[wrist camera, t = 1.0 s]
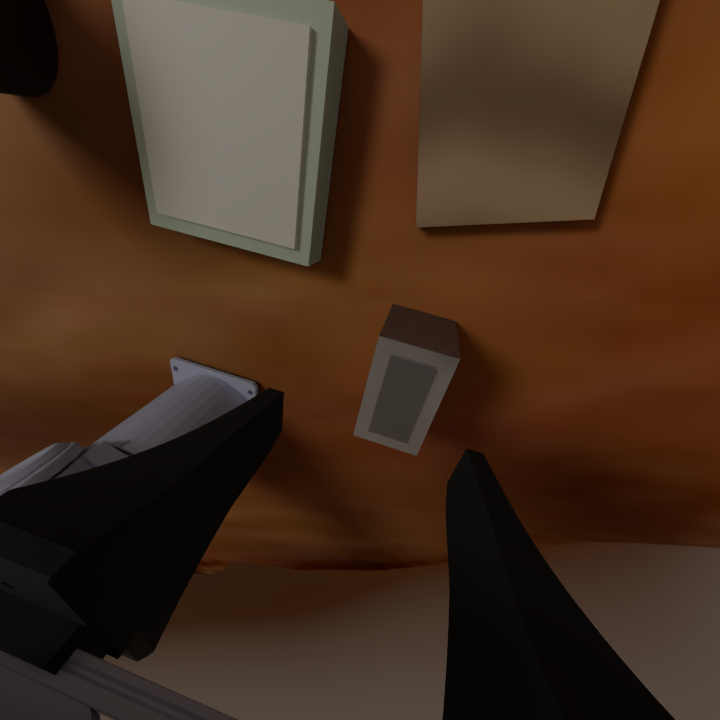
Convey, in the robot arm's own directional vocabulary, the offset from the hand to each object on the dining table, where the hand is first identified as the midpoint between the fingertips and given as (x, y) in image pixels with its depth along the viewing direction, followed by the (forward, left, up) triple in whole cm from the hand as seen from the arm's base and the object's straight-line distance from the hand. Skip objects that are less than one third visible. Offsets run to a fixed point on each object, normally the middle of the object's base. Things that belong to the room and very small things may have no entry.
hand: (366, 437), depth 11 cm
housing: (-1, -1, -10) cm, 10 cm away
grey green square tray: (+9, +11, -10) cm, 17 cm away
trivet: (+12, -2, -9) cm, 15 cm away
